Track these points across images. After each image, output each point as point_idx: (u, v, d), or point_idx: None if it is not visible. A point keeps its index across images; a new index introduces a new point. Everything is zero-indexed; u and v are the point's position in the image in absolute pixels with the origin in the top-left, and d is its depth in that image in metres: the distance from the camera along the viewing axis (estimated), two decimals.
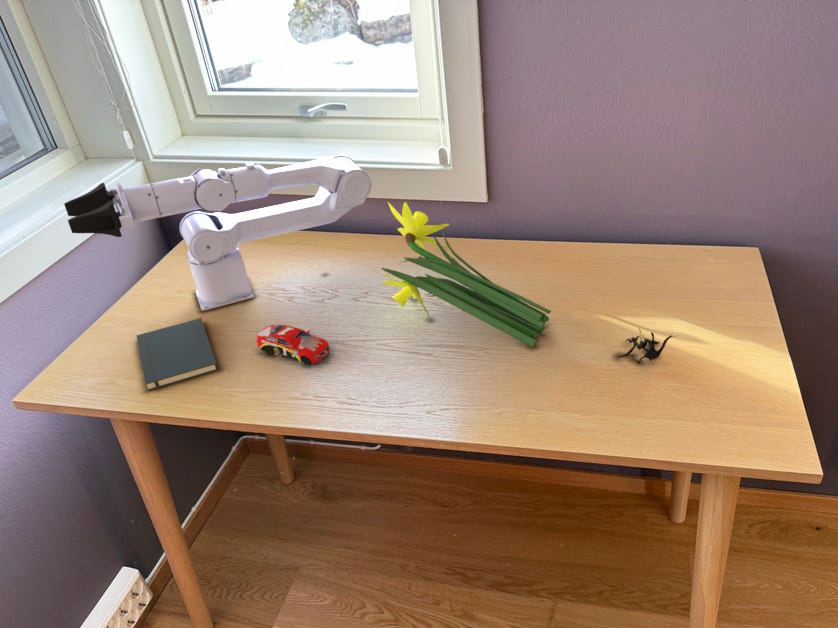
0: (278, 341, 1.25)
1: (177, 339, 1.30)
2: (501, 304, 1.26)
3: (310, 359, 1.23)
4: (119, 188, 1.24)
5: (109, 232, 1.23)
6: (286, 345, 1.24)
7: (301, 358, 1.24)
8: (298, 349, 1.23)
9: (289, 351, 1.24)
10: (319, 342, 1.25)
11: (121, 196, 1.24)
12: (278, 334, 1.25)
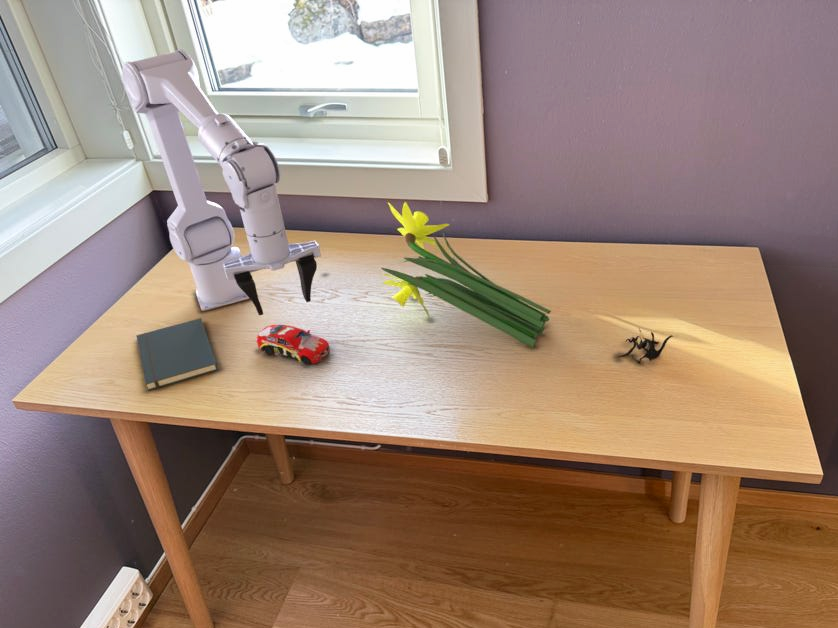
0: (278, 341, 1.25)
1: (177, 339, 1.30)
2: (501, 304, 1.26)
3: (310, 359, 1.23)
4: None
5: None
6: (286, 345, 1.24)
7: (301, 358, 1.24)
8: (298, 349, 1.23)
9: (289, 351, 1.24)
10: (319, 342, 1.25)
11: (288, 261, 1.16)
12: (278, 334, 1.25)
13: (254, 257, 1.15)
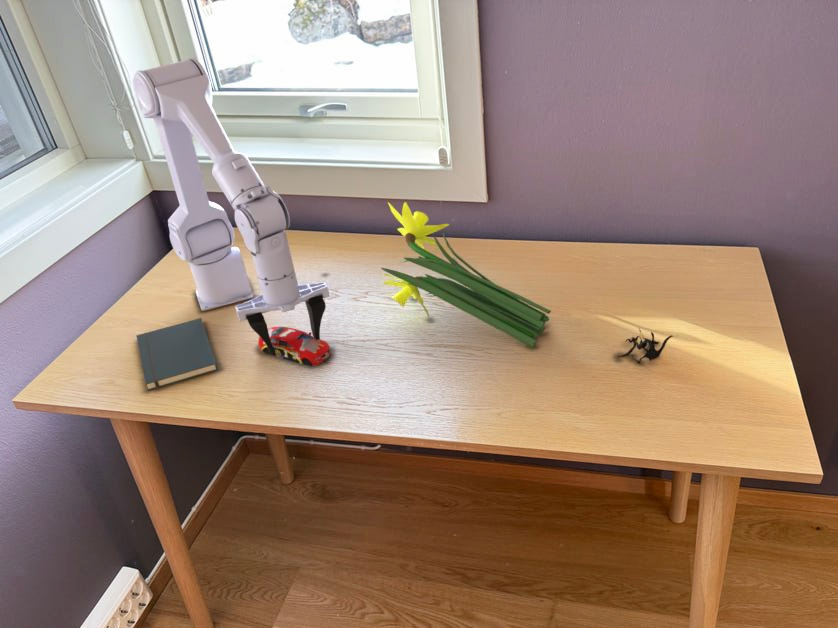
0: (279, 343, 1.25)
1: (177, 339, 1.30)
2: (501, 304, 1.26)
3: (311, 361, 1.23)
4: None
5: None
6: (288, 347, 1.24)
7: (302, 360, 1.24)
8: (299, 351, 1.24)
9: (290, 353, 1.24)
10: (320, 344, 1.25)
11: (298, 302, 1.20)
12: (279, 336, 1.25)
13: (265, 299, 1.19)
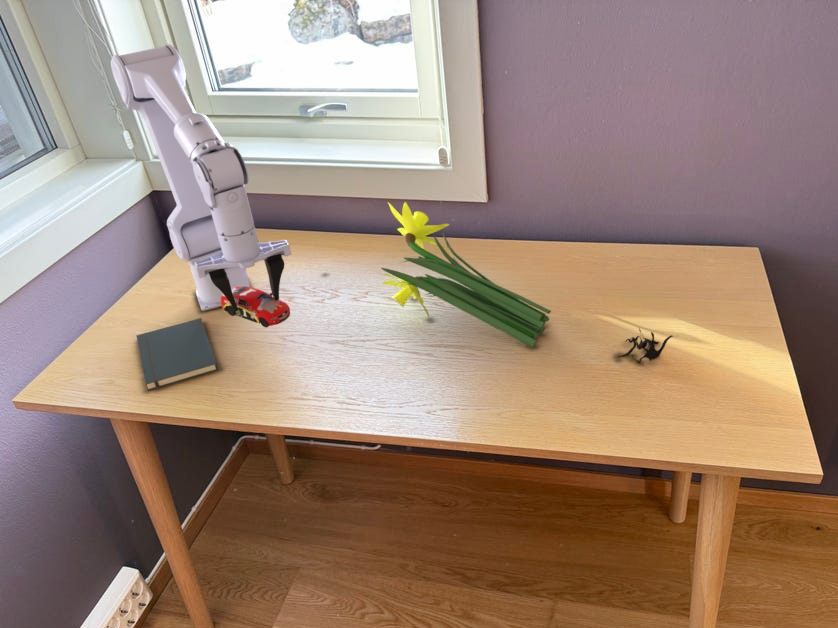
0: (239, 302, 1.25)
1: (177, 339, 1.30)
2: (501, 304, 1.26)
3: (267, 321, 1.22)
4: None
5: None
6: (246, 305, 1.24)
7: (259, 320, 1.23)
8: (256, 310, 1.23)
9: (248, 312, 1.24)
10: (279, 305, 1.24)
11: (258, 259, 1.19)
12: (239, 295, 1.25)
13: (225, 255, 1.17)
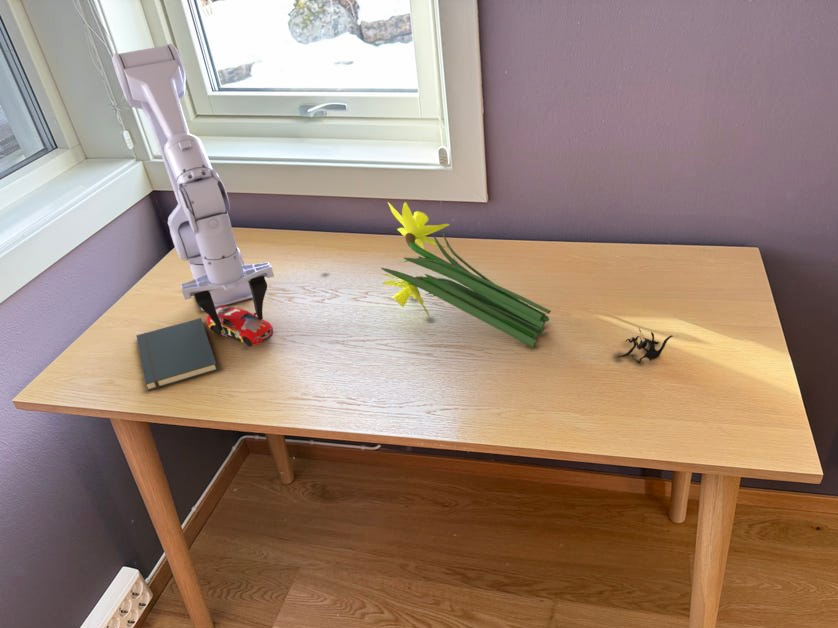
0: (224, 321, 1.29)
1: (177, 339, 1.30)
2: (501, 304, 1.26)
3: (250, 340, 1.27)
4: (237, 285, 1.22)
5: None
6: (230, 325, 1.28)
7: (243, 339, 1.28)
8: (240, 330, 1.28)
9: (233, 331, 1.28)
10: (262, 324, 1.29)
11: (242, 281, 1.23)
12: (224, 315, 1.29)
13: (209, 278, 1.22)
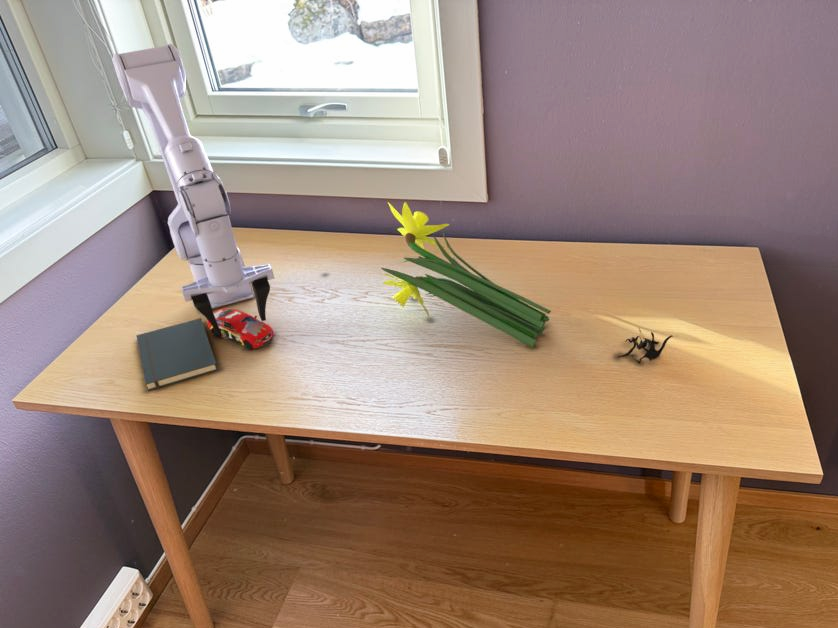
0: (224, 324, 1.30)
1: (177, 339, 1.30)
2: (501, 304, 1.26)
3: (251, 343, 1.27)
4: (237, 287, 1.22)
5: None
6: (231, 328, 1.29)
7: (244, 342, 1.28)
8: (241, 333, 1.28)
9: (233, 334, 1.29)
10: (263, 328, 1.29)
11: (242, 284, 1.24)
12: (225, 318, 1.30)
13: (210, 280, 1.22)
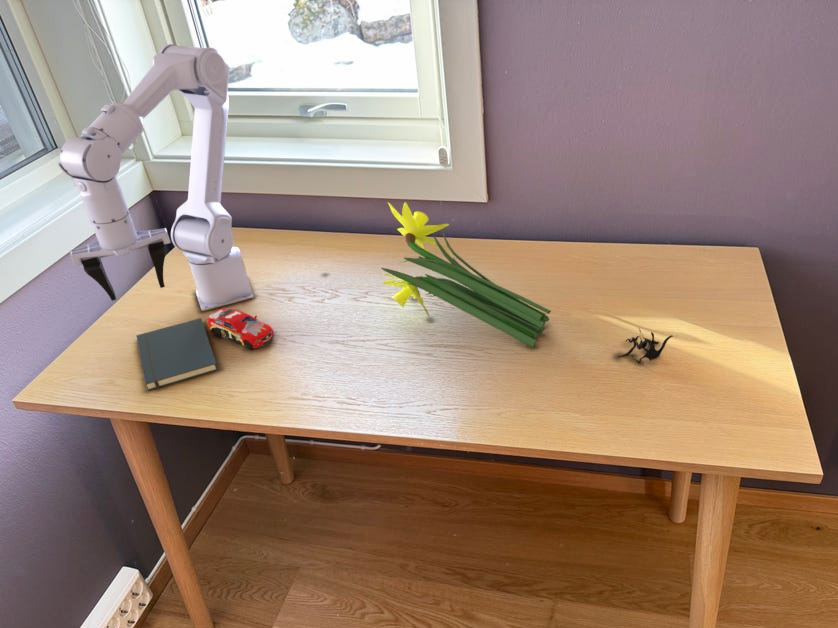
0: (224, 324, 1.30)
1: (177, 339, 1.30)
2: (501, 304, 1.26)
3: (251, 343, 1.27)
4: (129, 251, 1.18)
5: None
6: (231, 328, 1.29)
7: (244, 342, 1.28)
8: (241, 333, 1.28)
9: (233, 334, 1.29)
10: (263, 328, 1.29)
11: (135, 247, 1.19)
12: (225, 317, 1.30)
13: (100, 243, 1.18)
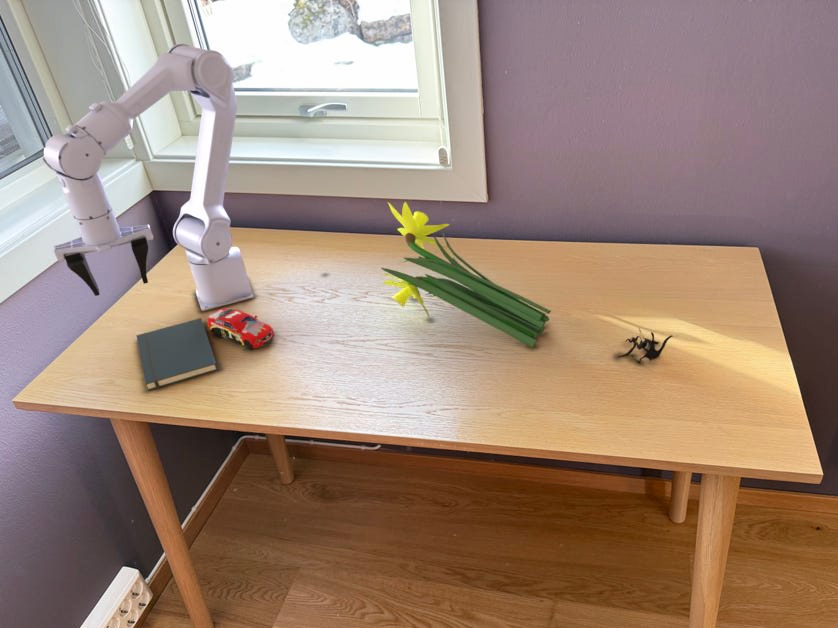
0: (225, 324, 1.30)
1: (177, 339, 1.30)
2: (501, 304, 1.26)
3: (251, 343, 1.27)
4: (111, 247, 1.20)
5: None
6: (231, 328, 1.29)
7: (244, 342, 1.28)
8: (241, 333, 1.28)
9: (234, 334, 1.29)
10: (263, 328, 1.29)
11: (117, 243, 1.21)
12: (225, 317, 1.30)
13: (83, 239, 1.20)
